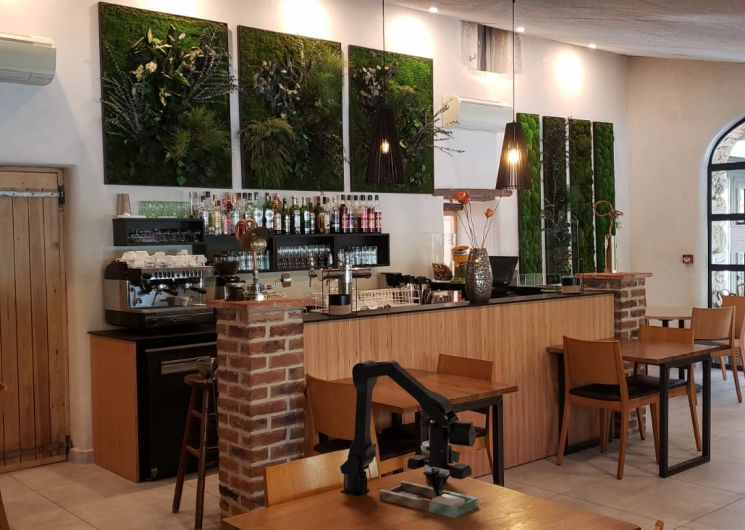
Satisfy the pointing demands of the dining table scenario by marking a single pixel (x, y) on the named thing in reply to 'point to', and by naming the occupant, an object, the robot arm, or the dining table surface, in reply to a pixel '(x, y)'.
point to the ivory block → (449, 500)
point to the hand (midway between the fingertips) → (438, 496)
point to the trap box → (410, 492)
